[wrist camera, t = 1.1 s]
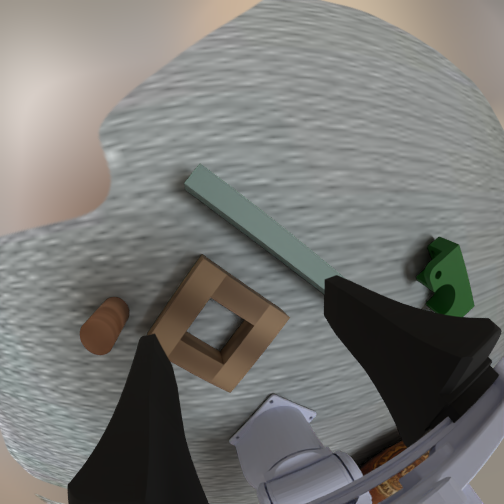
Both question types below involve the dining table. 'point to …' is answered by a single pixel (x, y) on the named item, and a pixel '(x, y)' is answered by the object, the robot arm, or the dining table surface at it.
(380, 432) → the dining table surface
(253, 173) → the dining table surface
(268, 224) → the wall
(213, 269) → the square frame
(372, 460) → the jug
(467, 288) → the clamp
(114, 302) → the dowel
